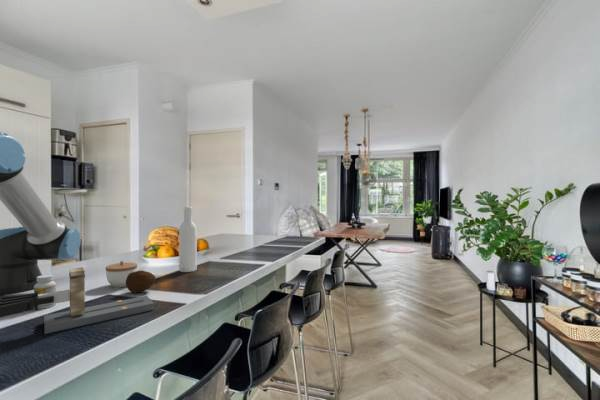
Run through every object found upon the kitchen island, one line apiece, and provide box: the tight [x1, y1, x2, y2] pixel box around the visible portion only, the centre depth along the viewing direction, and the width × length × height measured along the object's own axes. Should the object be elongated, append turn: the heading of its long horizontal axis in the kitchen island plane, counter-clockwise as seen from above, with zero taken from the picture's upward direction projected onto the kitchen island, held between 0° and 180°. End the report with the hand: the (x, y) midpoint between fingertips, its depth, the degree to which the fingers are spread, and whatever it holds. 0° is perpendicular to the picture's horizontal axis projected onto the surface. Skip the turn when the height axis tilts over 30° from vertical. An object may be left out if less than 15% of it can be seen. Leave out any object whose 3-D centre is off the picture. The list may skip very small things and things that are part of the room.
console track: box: [43, 295, 155, 335], centre depth 89 cm, size 26×9×2 cm, turn 131°
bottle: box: [178, 206, 198, 273], centre depth 143 cm, size 8×8×30 cm
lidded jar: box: [105, 260, 138, 288], centre depth 119 cm, size 11×11×9 cm
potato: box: [125, 270, 157, 293], centre depth 111 cm, size 7×10×8 cm
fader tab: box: [68, 266, 86, 316], centre depth 85 cm, size 3×5×12 cm, turn 41°
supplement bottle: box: [33, 274, 57, 310], centre depth 96 cm, size 5×5×10 cm
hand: (69, 295), depth 83 cm, fingers closed
